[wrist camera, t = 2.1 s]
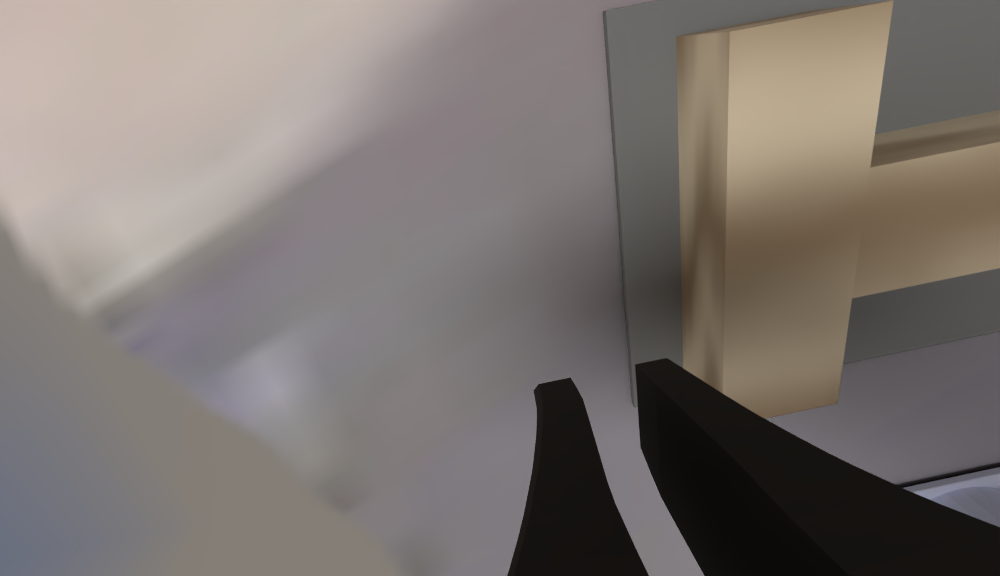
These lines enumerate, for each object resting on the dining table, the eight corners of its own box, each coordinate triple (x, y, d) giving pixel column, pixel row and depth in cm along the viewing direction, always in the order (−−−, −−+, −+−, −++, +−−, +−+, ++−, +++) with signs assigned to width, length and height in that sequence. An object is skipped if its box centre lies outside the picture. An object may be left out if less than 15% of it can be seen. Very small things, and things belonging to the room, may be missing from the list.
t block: (979, 315, 20) (1064, 355, 17) (683, 376, 20) (721, 427, 17) (1072, -39, 15) (1213, -62, 12) (676, 36, 15) (729, 31, 12)
